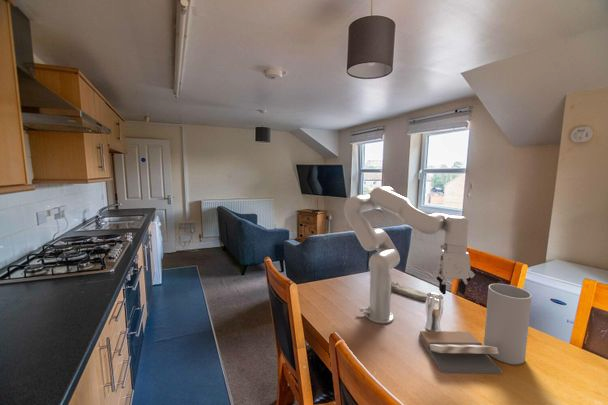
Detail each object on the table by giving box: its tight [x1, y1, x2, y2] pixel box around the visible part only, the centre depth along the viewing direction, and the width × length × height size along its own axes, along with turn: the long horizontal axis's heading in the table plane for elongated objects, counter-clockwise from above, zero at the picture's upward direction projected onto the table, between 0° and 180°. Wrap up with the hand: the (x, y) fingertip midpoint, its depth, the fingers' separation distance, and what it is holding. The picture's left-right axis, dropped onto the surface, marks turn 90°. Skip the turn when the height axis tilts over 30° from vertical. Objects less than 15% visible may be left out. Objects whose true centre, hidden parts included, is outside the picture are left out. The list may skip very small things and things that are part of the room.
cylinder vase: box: [483, 283, 533, 365], centre depth 99 cm, size 12×12×25 cm
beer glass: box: [425, 292, 444, 331], centre depth 115 cm, size 7×7×15 cm
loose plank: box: [430, 344, 499, 355], centre depth 96 cm, size 20×8×2 cm, turn 89°
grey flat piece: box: [418, 330, 502, 374], centre depth 100 cm, size 20×19×4 cm
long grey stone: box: [391, 280, 427, 303], centre depth 153 cm, size 35×5×10 cm
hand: (452, 292), depth 103 cm, fingers open, 6 cm apart
